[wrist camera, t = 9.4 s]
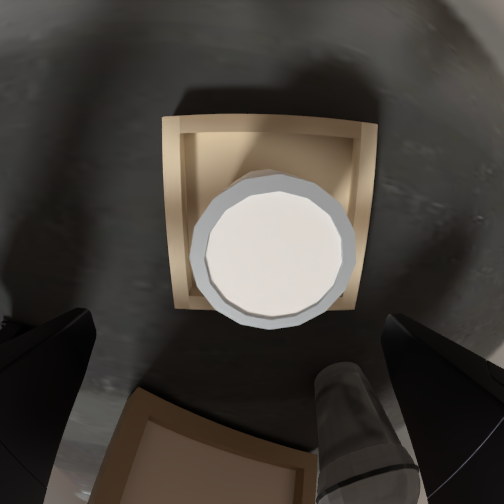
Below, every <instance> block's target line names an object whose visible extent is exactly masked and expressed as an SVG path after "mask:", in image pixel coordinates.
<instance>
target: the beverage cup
mask: <svg viewBox="0 0 504 504" xmlns="http://www.w3.org/2000/svg"><path fill="white" fill-rule="evenodd" d="M314 386H315V408H316V421H317V434H318V449H319V465H320V474H319V478H318V490H317V492H318V496H317V499H316V502H317V504H417V502H418V498H419V494H420V478H419V467H418V466H417V465H415V464H414V461H413V459H412V458H411V456H410V455H409V454H408V452H407V450H406V449H405V448H404V447H403V446H402V445H401V442H400V441H399V439H398V437H397V435H396V433H395V431H394V429H393V427H392V425H391V423H390V421H389V419H388V417H387V415H386V413H385V411H384V409H383V407H382V405H381V403H380V401H379V400H378V398H377V396H376V394H375V392H374V390H373V388H372V386H371V384H370V383H369V381H368V379H367V378H366V377H365V375H364V373H363V372H362V370H361V368H360V367H359V366H358V365H357V364H355V363H353V362H338V363H335V364H332V365H329V366H328V367H326V368H324V369H323V370H322V371H321V372H320V373H319V374H318V375H317V377H316V378H315V382H314Z"/></svg>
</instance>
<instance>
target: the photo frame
mask: <svg viewBox="0 0 504 504" xmlns="http://www.w3.org/2000/svg"><path fill="white" fill-rule="evenodd" d="M316 476H317V455H316V454H312V453H308V452H304V451H300V450H296V449H292V448H289V447H285V446H282V445H279V444H275V443H272V442H269V441H266V440H263V439H259V438H256V437H253V436H251V435H248V434H245V433H242V432H239V431H236V430H234V429H231V428H228V427H226V426H223V425H221V424H218V423H215V422H213V421H210V420H208V419H206V418H203V417H201V416H198V415H196V414H194V413H192V412H189V411H187V410H185V409H183V408H180V407H178V406H176V405H174V404H172V403H170V402H168V401H165V400H163V399H161V398H159V397H157V396H155V395H153V394H151V393H149V392H147V391H146V390H144V389H142V388H140V387H138V388H137V389H136V390H135V391H134V392H133V393H132V395H131V396H130V397H129V398H128V399H127V402H126V404H125V406H124V409H123V411H122V414H121V416H120V418H119V421H118V423H117V426H116V428H115V431H114V433H113V436H112V438H111V441H110V444H109V446H108V449H107V451H106V454H105V456H104V459H103V462H102V464H101V467H100V470H99V472H98V475H97V478H96V481H95V483H94V486H93V489H92V492H91V495H90V498H89V501H88V503H87V504H315V493H316Z"/></svg>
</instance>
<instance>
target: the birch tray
mask: <svg viewBox="0 0 504 504" xmlns="http://www.w3.org/2000/svg"><path fill="white" fill-rule="evenodd" d="M377 129H378V124H372V123H365V122H358V121H350V120H341V119H332V118H321V117H309V116H294V115H274V114H204V115H183V116H169V117H162V150H163V179H164V198H165V214H166V228H167V240H168V251H169V261H170V271H171V280H172V289H173V297H174V305H175V309H197V310H215V309H214V308H213V306H212V305H211V304H210V303H209V301H208V300H207V299H206V297H205V296H204V295H203V294H202V292H201V291H200V290H199V289H198V287H197V285H196V281H195V278H194V274H193V270H192V266H191V262H190V259H189V256H190V250H191V244H192V238H193V232H194V227H195V225H196V224H197V222H198V221H199V219H200V218H201V216H202V215H203V213H204V212H205V210H206V209H207V207H208V206H209V204H210V203H211V202H212V200H213V199H214V198H215V197H216V196H217V195H218V194H220V193H221V192H222V191H223V190H225V189H226V188H227V187H228V186H229V185H231V184H232V183H233V182H234V181H236V180H238V179H239V178H241V177H242V176H244V175H246V174H247V173H249V172H251V171H257V170H264V169H272V170H276V171H280V172H284V173H288V174H291V175H294V176H296V177H299V178H302V179H305V180H308V181H311V182H313V183H315V184H317V185H318V186H319V187H321V188H322V189H323V190H324V191H326V192H327V193H328V194H329V195H331V196H332V197H333V198H334V199H335V200H337V201H338V202H339V203H340V204H341V205H342V207H343V209H344V211H345V213H346V215H347V217H348V219H349V221H350V223H351V225H352V227H353V229H354V231H355V241H356V264H355V267H354V269H353V272H352V275H351V277H350V280H349V282H348V285H347V287H346V290H345V291H344V292H343V293H342V294H341V295H340V296H339V297H338V299H337V300H336V301H335V302H334V303H333V304H332V305H331V306H330V307H329V308H328V309H327V310H354V309H355V304H356V299H357V294H358V289H359V283H360V278H361V272H362V267H363V261H364V255H365V248H366V242H367V235H368V228H369V220H370V212H371V204H372V195H373V185H374V174H375V162H376V148H377Z"/></svg>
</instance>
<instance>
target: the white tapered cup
mask: <svg viewBox="0 0 504 504" xmlns="http://www.w3.org/2000/svg"><path fill="white" fill-rule="evenodd" d="M189 259H190V262H191V266H192V270H193V274H194V278H195V281H196V285H197V287H198V289H199V290H200V291H201V292H202V294H203V295H204V296H205V297H206V299H207V300H208V301H209V303H210V304H211V305H212V306H213V308H214V309H215V310H217V311H218V312H220V313H222V314H223V315H225V316H227V317H229V318H230V319H232V320H234V321H235V322H237V323H239V324H241V325H246V326H252V327H257V328H263V329H268V330H271V329H278V328H285V327H291V326H298V325H301V324H303V323H304V322H306V321H308V320H310V319H312V318H314V317H316V316H318V315H320V314H322V313H324V312H325V311H326V310H327V309H328V308H329V307H330V306H331V305H332V304H333V303H334V302H335V301H336V300H337V299H338V297H339V296H340V295H341V294H342V293H343V292H344V291H345V290H346V287H347V285H348V282H349V280H350V277H351V275H352V272H353V269H354V267H355V264H356V241H355V231H354V229H353V227H352V225H351V223H350V221H349V219H348V217H347V215H346V213H345V211H344V209H343V207H342V205H341V204H340V203H339V202H338V201H337V200H335V199H334V198H333V197H332V196H331V195H329V194H328V193H327V192H326V191H324V190H323V189H322V188H321V187H319V186H318V185H317V184H315V183H313V182H311V181H308V180H305V179H302V178H299V177H296V176H294V175H291V174H288V173H284V172H280V171H276V170H272V169H264V170H257V171H251V172H249V173H247V174H246V175H244V176H242V177H241V178H239V179H238V180H236V181H234V182H233V183H232V184H231V185H229V186H228V187H227V188H226V189H225V190H223V191H222V192H221V193H220V194H218V195H217V196H216V197H215V198H214V199H213V200H212V202H211V203H210V204H209V206H208V207H207V209H206V210H205V212H204V213H203V215H202V216H201V218H200V219H199V221H198V222H197V224H196V225H195V227H194V232H193V238H192V244H191V250H190V256H189Z"/></svg>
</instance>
